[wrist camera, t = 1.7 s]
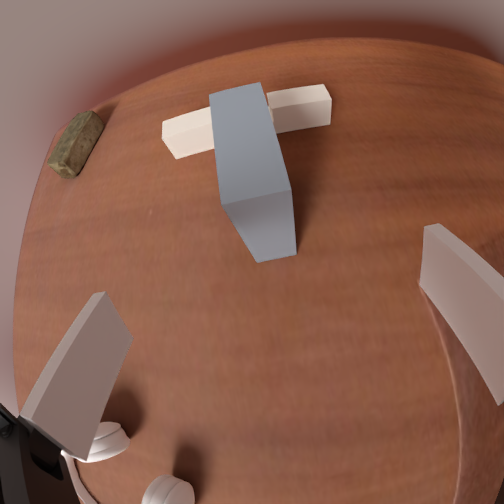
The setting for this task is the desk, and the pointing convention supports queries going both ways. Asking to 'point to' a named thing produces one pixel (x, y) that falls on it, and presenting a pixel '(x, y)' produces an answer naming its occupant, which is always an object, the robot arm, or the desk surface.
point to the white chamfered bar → (281, 110)
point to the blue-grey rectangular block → (252, 172)
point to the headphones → (114, 442)
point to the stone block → (76, 144)
